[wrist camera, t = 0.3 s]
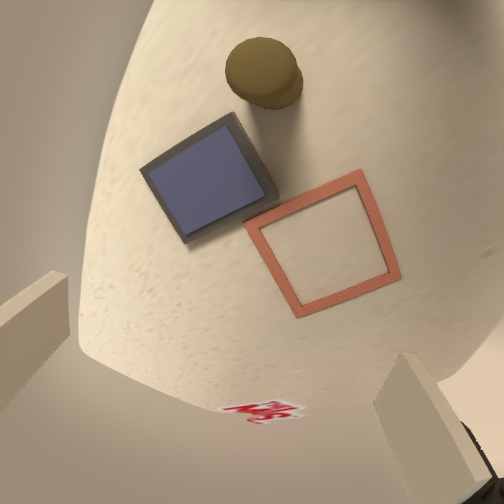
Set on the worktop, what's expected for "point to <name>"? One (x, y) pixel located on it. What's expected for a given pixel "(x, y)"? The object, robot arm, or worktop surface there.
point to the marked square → (305, 200)
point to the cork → (264, 73)
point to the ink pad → (210, 179)
